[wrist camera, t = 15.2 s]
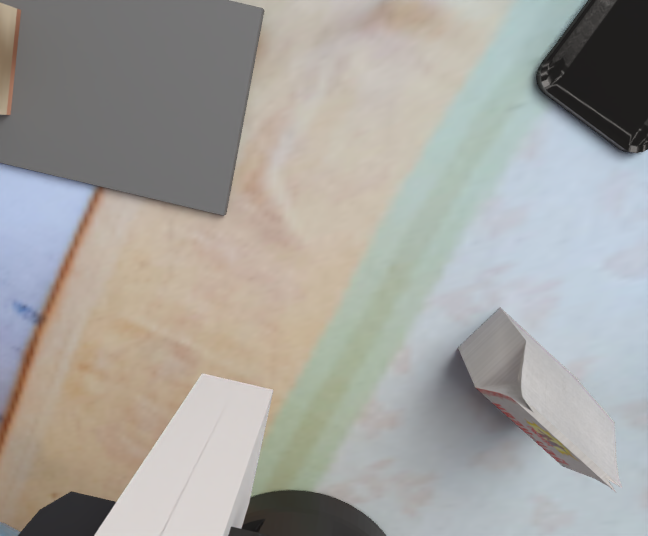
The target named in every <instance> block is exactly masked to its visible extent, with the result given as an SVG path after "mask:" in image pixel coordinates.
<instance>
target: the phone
mask: <svg viewBox="0 0 648 536" xmlns="http://www.w3.org/2000/svg"><path fill="white" fill-rule="evenodd" d="M537 84H538V86H539V88H540V90H541V91H542V92H543V93H544V94H546V95H547V96H548V97H550V98H551V99H552V100H554V101H555V102H556V103H558V104H559V105H560V106H562V107H563V108H564V109H566V110H567V111H569V112H570V113H571V114H573V115H574V116H575V117H577V118H578V119H579V120H581V121H582V122H583V123H585V124H586V125H587V126H589V127H590V128H591V129H593V130H594V131H595V132H597V133H598V134H600V135H601V136H602V137H604V138H605V139H606V140H608V141H609V142H610V143H612V144H613V145H614V146H616V147H617V148H618V149H620V150H622V151H624V152H633V153H638V152H643V151H645V150H647V149H648V0H588V2H587V3H586V4H585V6H584V7H583V8H582V10H581V11H580V12H579V14H578V15H577V16H576V18H575V19H574V20H573V22H572V23H571V24H570V26H569V27H568V28H567V30H566V31H565V33H564V34H563V35H562V37H561V38H560V39H559V41H558V42H557V43H556V45H555V46H554V47H553V49H552V50H551V51H550V53H549V54H548V55H547V57H546V58H545V59H544V61H543V62H542V63H541V65H540V67H539V69H538V72H537Z"/></svg>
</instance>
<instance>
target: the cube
mask: <svg viewBox="0 0 648 536" xmlns="http://www.w3.org/2000/svg"><path fill="white" fill-rule="evenodd" d="M20 17H21V10H20V9H17V8H14V7H11V6H9V5H6V4H3V3H0V115H11V105H12V95H13V86H14V76H15V66H16V56H17V46H18V37H19V27H20Z"/></svg>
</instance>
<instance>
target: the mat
mask: <svg viewBox="0 0 648 536" xmlns="http://www.w3.org/2000/svg"><path fill="white" fill-rule="evenodd" d="M0 3H3V4H6V5H9V6H11V7H14V8H17V9H20V10H21V17H20V27H19V37H18V46H17V56H16V66H15V76H14V86H13V95H12V105H11V115H0V163H4V164H8V165H12V166H16V167H21V168H25V169H29V170H33V171H37V172H42V173H46V174H50V175H54V176H59V177H63V178H67V179H71V180H76V181H80V182H84V183H88V184H92V185H97V186H101V187H105V188H109V189H114V190H118V191H122V192H126V193H131V194H135V195H139V196H143V197H147V198H152V199H156V200H160V201H164V202H169V203H173V204H177V205H181V206H186V207H190V208H194V209H198V210H202V211H207V212H211V213H215V214H219V215H226V212H227V207H228V202H229V196H230V191H231V186H232V180H233V175H234V170H235V164H236V159H237V154H238V148H239V143H240V138H241V132H242V127H243V121H244V116H245V111H246V105H247V100H248V95H249V89H250V84H251V79H252V73H253V68H254V63H255V57H256V52H257V47H258V41H259V36H260V31H261V25H262V20H263V15H264V9H263V8H259V7H255V6H251V5H246V4H242V3H238V2H233V1H229V0H0Z"/></svg>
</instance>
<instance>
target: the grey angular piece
mask: <svg viewBox="0 0 648 536" xmlns="http://www.w3.org/2000/svg"><path fill="white" fill-rule="evenodd" d="M458 349H459V351H460V354H461V356H462V358H463V361H464V363H465V365H466V367H467V370H468V372H469V374H470V377H471V379H472V381H473V383H474V386H475V388H476V389H477V390H479V391H480V392H481V393H482V394H483V395H484V396H485V397H486V398H487V399H489V400H490V401H491V402H492V403H493V404H494V405H495V406H496V407H497V408H499V409H500V410H501V411H502V412H503V413H504V414H505V415H506V416H507V417H509V418H510V419H511V420H512V421H513V422H514V423H515V424H516V425H517V426H518V427H520V428H521V429H522V430H523V431H524V432H525V433H526V434H527V435H528V436H530V437H531V438H532V439H533V440H534V441H535V442H536V443H537V444H538V445H540V446H541V447H542V448H543V449H544V450H545V451H546V452H547V453H548V454H550V455H551V456H552V457H553V458H554V459H555V460H556V461H557V462H558V463H560V464H561V465H562V466H563V467H566V468H568V469H571V470H574V471H576V472H579V473H582V474H584V475H587V476H589V477H592V478H594V479H596V480H598V481H600V482H602V483H604V484H606V485H607V486H609V487H610V488H611V489H613V490H614V488H613V487H612V485H611V484H610V483H609V481H611V482H613V483H614V484H616V485H618V486H619V487H621V488H622V485H621V482H620V479H619V475H618V468H617V461H616V441H615V422H614V421H613V420H612V419H611V418H610V417H609V415H608V414H607V413H606V412H605V411H604V410H603V408H602V407H601V406H600V405H599V404H598V403H597V401H596V400H595V399H594V398H593V397H592V396H591V395H590V393H589V392H588V391H587V390H586V389H585V388H584V386H583V385H582V384H581V383H580V382H579V381H578V379H577V378H576V377H575V376H574V375H573V374H572V373H571V372H569V371H568V370H567V369H566V368H565V367H564V366H563V365H562V364H561V363H560V362H559V361H558V360H557V359H555V358H554V357H553V356H552V355H551V354H550V353H549V352H548V351H547V350H546V349H545V348H544V347H543V346H541V345H540V344H539V343H538V342H537V341H536V340H535V339H534V338H533V337H532V336H531V335H530V334H529V333H527V332H526V331H525V330H524V329H523V328H522V327H521V326H520V325H519V324H518V323H517V322H516V321H515V320H513V319H512V318H511V317H510V316H509V315H508V314H507V313H506V312H505V311H504V310H503V309H502V308H499V309H498V310H497V311H496V312H495V313H494V314H493V315H492V316H491V317H490V318H489V319H487V320H486V321H485V322H484V323H483V324H482V325H481V326H480V327H479V328H478V329H477V330H476V331H475V332H474V333H473V334H472V335H471V336H470V337H469V338H467V339H466V340H465V341H464V342H463V343H462V344H461V345H460V346H459V347H458ZM607 479H608V480H609V481H608V480H607ZM614 491H615V490H614ZM615 492H616V491H615Z"/></svg>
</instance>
